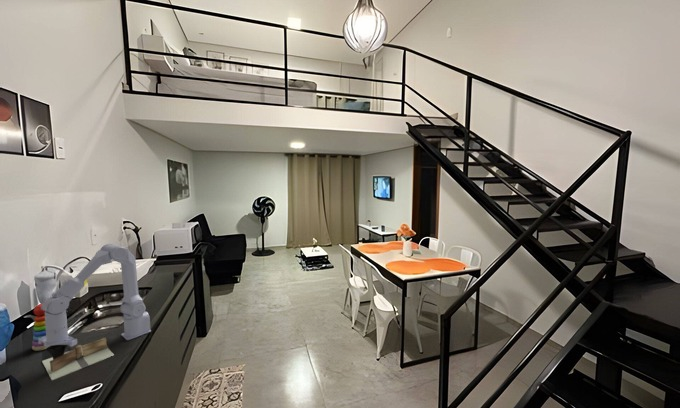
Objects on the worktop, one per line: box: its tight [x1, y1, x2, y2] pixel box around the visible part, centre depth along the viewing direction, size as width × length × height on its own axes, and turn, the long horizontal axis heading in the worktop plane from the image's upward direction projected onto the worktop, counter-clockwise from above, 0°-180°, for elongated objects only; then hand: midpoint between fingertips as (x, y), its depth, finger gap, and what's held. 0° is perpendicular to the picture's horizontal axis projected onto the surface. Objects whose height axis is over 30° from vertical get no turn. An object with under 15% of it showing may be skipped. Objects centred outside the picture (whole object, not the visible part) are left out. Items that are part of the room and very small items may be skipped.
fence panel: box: [50, 349, 76, 371], centre depth 107 cm, size 8×1×4 cm, turn 168°
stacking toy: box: [31, 303, 50, 352], centre depth 120 cm, size 8×8×19 cm
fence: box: [74, 337, 108, 359], centre depth 115 cm, size 10×2×5 cm, turn 144°
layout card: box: [41, 345, 115, 381], centre depth 112 cm, size 18×18×1 cm
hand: (59, 362), depth 107 cm, fingers closed, pressing on fence panel
